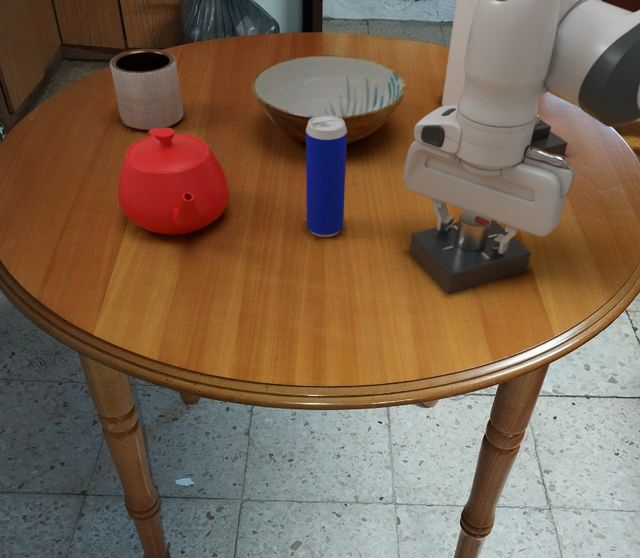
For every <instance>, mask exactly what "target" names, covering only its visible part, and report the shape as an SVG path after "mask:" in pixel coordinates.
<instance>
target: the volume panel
mask: <svg viewBox="0 0 640 558" xmlns="http://www.w3.org/2000/svg"><path fill="white" fill-rule="evenodd" d="M458 223H459V221H456V222H453V223H452V224H453V227H452V229H451V231H449V232H448V233H447V234H446V233H443V232H440V231H437V226H436V227H433V228H428V229H424V230H421V231H416V232H413V233H411V238H410V244H409V254H410V255H411V257H412V258H414V259H415V261H416V262H417V263H418V264H419V265H420V266H421V267H422V268H423V270H424V271H425V272H427V274H428V275H429V276H430V277H431V278H432V279H433V280H434V281H435V282H436V283H437V284H438V286H440V287H441V288H442V289H443V291H444V292H446V294H447V295H450V294H453V293H457V292H460V291H463V290H467V289H471V288H473V287H477V286H481V285H485V284H488V283H491V282H494V281H499V280H502V279H506V278H508V277H512V276H515V275H519V274H522V273H525V272H527V270H528V266H529V263H530V258H531V254H532V251H530V250H529V249H528V248H527V247H526V246H525V245H524V244H523V243H521V242H520V241H519V240H518V239H517V238H515V237H514V236H513V237H512V238H511V239H510V240H509V244H508V248H507V250H506V251H505V252H504V253H503V254H499V253H497V252H494V251H492V247H493V241H494V239H495V238H496V237H497V236H498V235H499V234H502V235H506V234H508V233H509V232H505V227H503V226H501V224H499V222H497V221H494V220H491V225H490V229H489V234H488V238H487V243H486V246H485V247H484V248H483V249H481V250H478V251H468V250H464V249H462V248H460V247H459V246H457V244H456V242H455V239H456V234H457V228H458Z"/></svg>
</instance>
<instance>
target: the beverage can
mask: <svg viewBox="0 0 640 558" xmlns="http://www.w3.org/2000/svg"><path fill="white" fill-rule="evenodd" d="M346 141H347V129H346V125H345V122H344V120H343V119H341V118H340V117H337V116H334V115H318V116H315V117H313V118H311V119H310V120H309V122H308V125H307V128H306V143H305V159H306V160H305V177H306V178H305V179H306V180H305V182H306V183H305V184H306V186H305V187H306V191H305V192H306V200H305V201H306V228H307V229H308V231H309V232H310V233H311V234H312V235H314V236H316V237H320V238H331V237H334V236H336V235H338V234H339V233H340V232H341V231H342V230H343V228H344V220H345V219H344V214H345V190H346V165H347V163H346V162H347V145H346Z"/></svg>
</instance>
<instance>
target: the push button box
mask: <svg viewBox="0 0 640 558" xmlns="http://www.w3.org/2000/svg"><path fill="white" fill-rule="evenodd" d="M530 146H531V147H534V148H537V149H540V150H543V151H545V152H548V153H550V154H557V155H560V156H563V157H565V154H566V151H567V146H568V141H566V140H565V139H563V138H561V137H560V136H558V135H557V134H555V133H554V132H553V131H552V126H551V125H550V124H548V123H547V122H546V121H544V120H543V119H541V118H540V120H539V124H538V126H534V130H533V135H532V139H531V143H530Z"/></svg>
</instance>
